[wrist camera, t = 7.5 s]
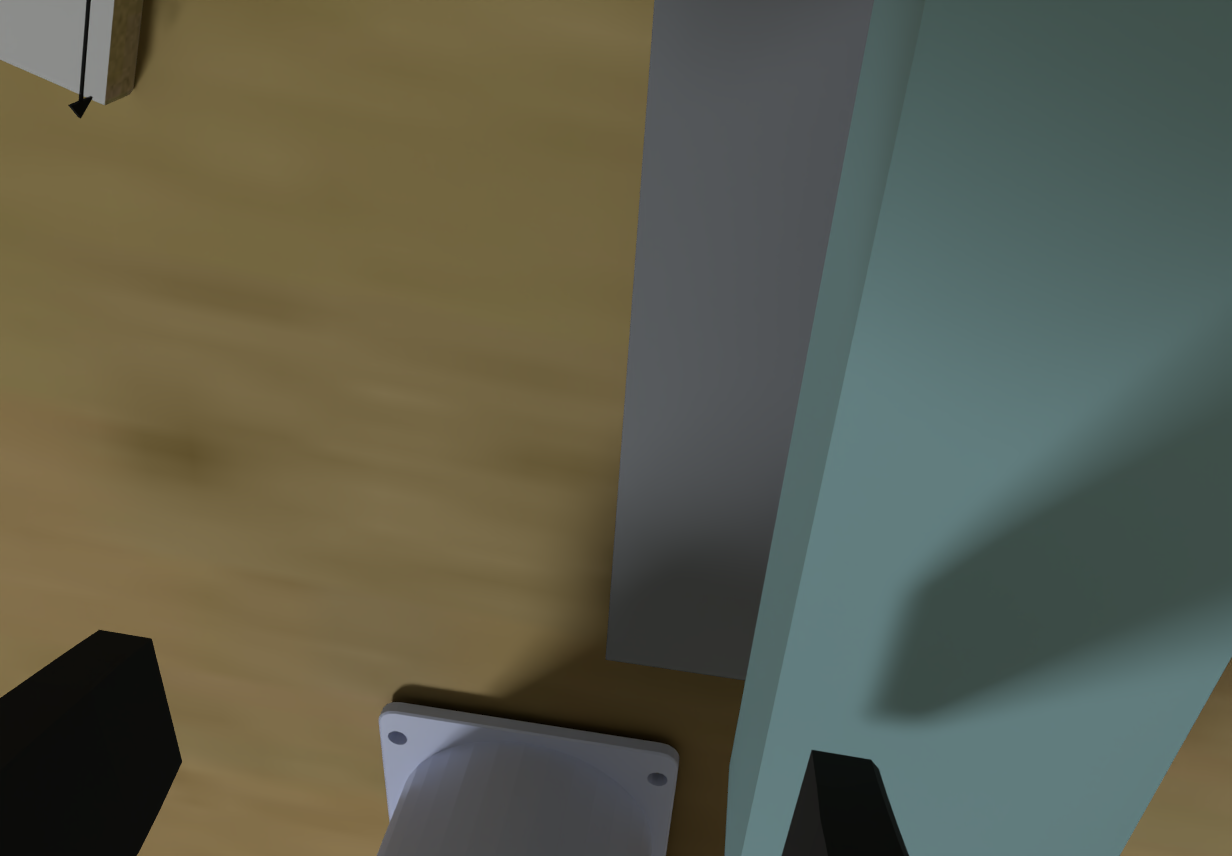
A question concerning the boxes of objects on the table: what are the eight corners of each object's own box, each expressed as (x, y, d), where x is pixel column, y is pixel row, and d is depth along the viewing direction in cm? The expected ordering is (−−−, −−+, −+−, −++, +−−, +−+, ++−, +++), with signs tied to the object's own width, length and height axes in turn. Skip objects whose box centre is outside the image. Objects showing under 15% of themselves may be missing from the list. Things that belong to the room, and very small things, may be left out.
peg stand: (1043, 676, 22) (1111, 898, 18) (614, 614, 23) (573, 811, 19) (1452, -294, 13) (1838, -357, 8) (689, -336, 14) (643, -416, 9)
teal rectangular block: (986, 806, 17) (1029, 1014, 14) (729, 765, 17) (719, 959, 14) (1372, -106, 9) (1642, -71, 6) (900, -141, 10) (952, -125, 7)
